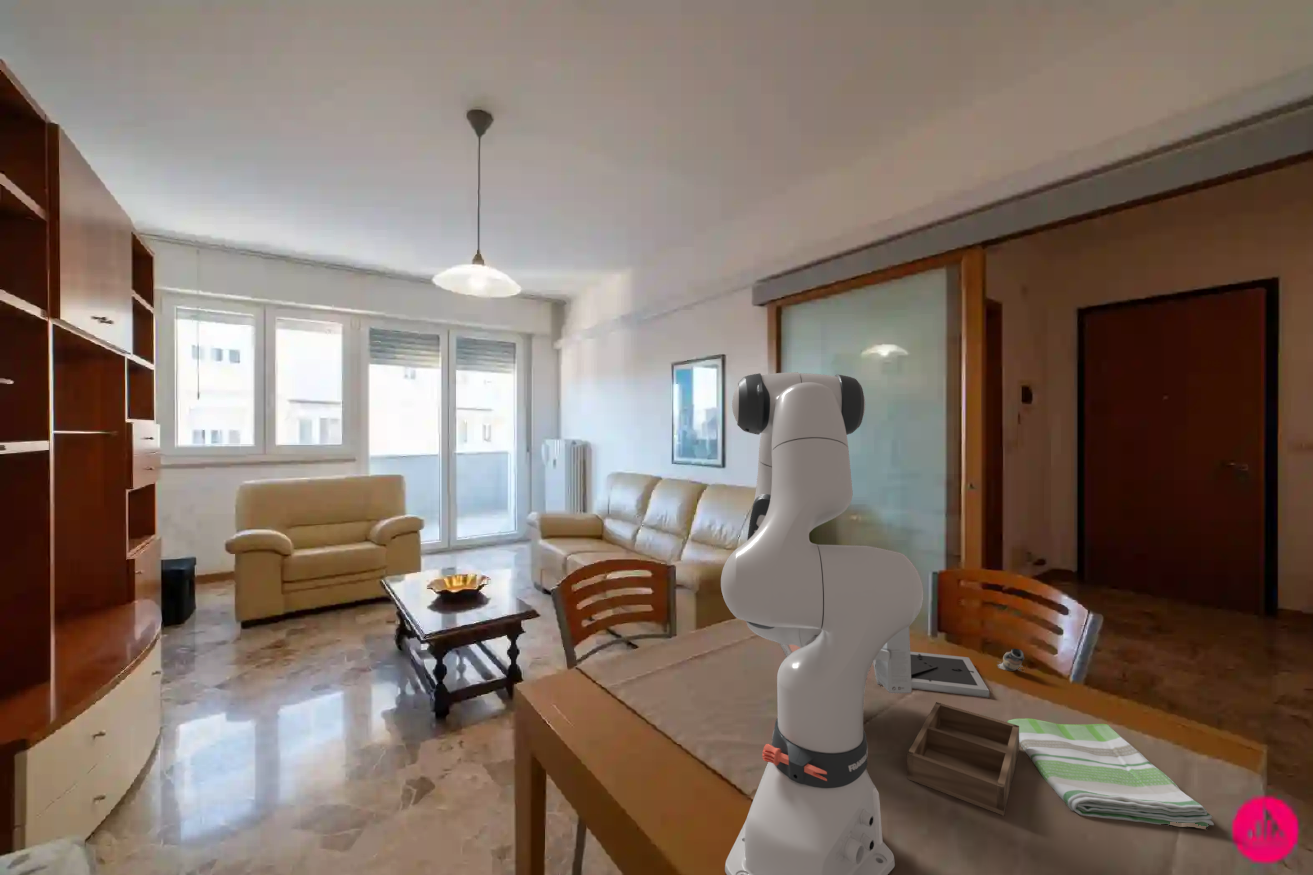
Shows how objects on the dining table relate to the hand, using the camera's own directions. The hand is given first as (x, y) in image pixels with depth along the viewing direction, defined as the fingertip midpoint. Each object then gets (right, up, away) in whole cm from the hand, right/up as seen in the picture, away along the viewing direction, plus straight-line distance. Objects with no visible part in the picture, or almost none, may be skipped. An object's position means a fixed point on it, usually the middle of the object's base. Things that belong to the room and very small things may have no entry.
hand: (897, 648), depth 96 cm
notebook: (-4, -14, +40) cm, 43 cm away
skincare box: (-1, -7, +1) cm, 7 cm away
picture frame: (+15, -15, +21) cm, 30 cm away
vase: (+35, -14, +20) cm, 42 cm away
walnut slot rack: (+6, -15, -10) cm, 19 cm away
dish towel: (+25, -15, -13) cm, 32 cm away
